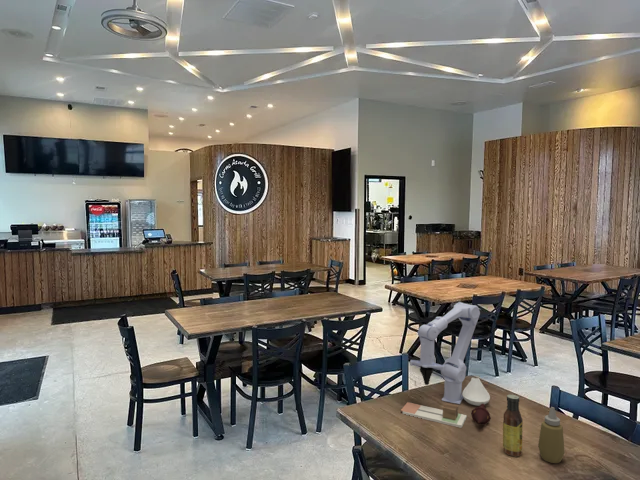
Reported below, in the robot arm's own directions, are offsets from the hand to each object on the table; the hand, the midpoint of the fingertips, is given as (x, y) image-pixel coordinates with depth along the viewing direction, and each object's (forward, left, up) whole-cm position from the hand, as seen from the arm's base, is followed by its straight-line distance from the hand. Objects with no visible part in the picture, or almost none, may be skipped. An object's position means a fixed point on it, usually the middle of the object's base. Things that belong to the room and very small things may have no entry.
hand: (426, 384), depth 186 cm
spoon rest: (-22, +17, -11) cm, 29 cm away
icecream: (+3, +23, -11) cm, 25 cm away
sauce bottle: (+20, +36, -11) cm, 43 cm away
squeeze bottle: (+18, +48, -11) cm, 52 cm away
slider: (+6, +11, -9) cm, 16 cm away
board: (+6, +5, -10) cm, 13 cm away
